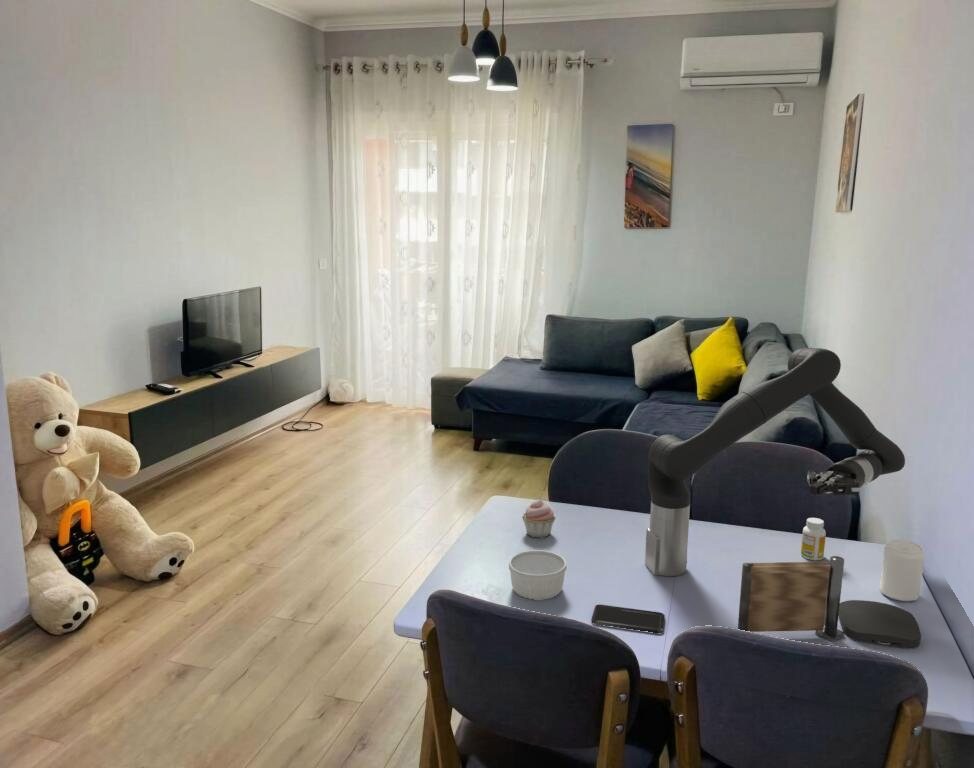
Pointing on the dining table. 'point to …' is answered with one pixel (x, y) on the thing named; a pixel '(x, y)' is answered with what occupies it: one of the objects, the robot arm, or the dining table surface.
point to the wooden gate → (783, 596)
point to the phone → (628, 618)
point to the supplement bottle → (813, 539)
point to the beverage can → (902, 570)
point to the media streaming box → (879, 624)
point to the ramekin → (537, 574)
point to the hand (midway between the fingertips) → (813, 490)
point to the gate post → (833, 601)
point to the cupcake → (538, 519)
